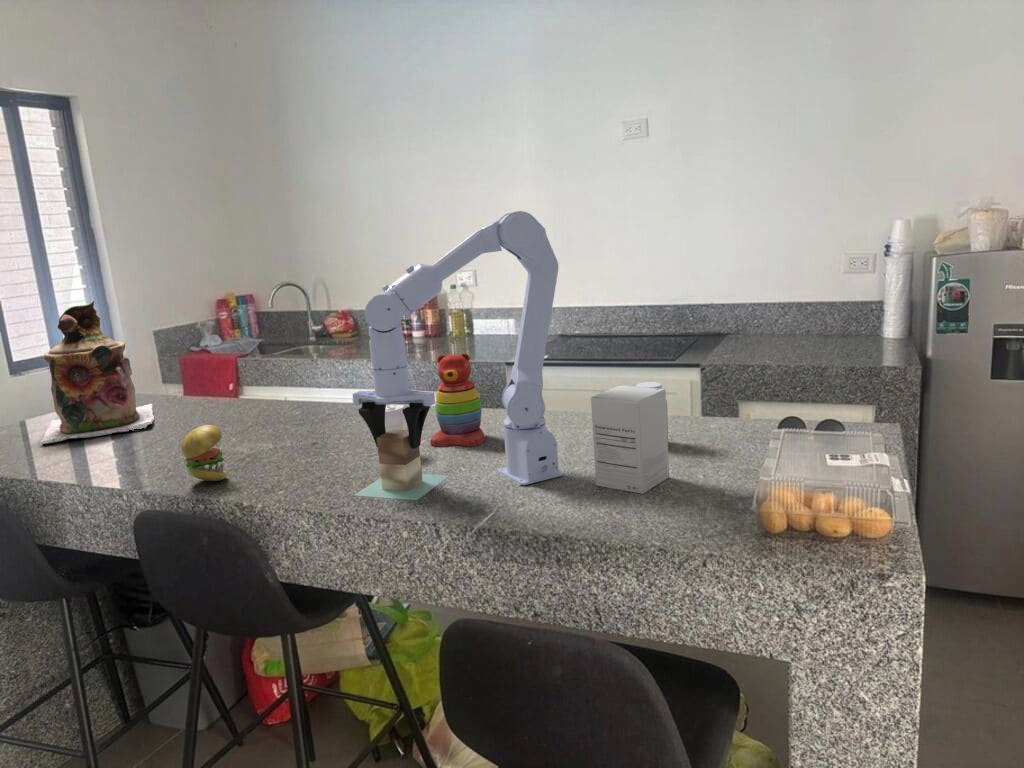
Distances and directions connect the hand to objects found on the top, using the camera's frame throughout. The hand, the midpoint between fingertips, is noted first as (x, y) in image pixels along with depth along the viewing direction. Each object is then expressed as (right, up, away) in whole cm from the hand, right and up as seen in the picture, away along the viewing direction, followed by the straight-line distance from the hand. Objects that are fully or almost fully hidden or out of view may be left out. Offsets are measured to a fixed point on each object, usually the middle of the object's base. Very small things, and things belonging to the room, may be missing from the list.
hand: (398, 446), depth 126 cm
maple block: (0, -7, +1) cm, 7 cm away
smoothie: (-4, -4, +20) cm, 21 cm away
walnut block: (0, -2, +1) cm, 2 cm away
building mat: (0, -7, +1) cm, 7 cm away
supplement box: (+39, -6, -4) cm, 39 cm away
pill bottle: (+45, -1, +15) cm, 48 cm away
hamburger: (-37, -8, +12) cm, 40 cm away
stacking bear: (+9, -1, +28) cm, 29 cm away
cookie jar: (-85, -1, +64) cm, 106 cm away
